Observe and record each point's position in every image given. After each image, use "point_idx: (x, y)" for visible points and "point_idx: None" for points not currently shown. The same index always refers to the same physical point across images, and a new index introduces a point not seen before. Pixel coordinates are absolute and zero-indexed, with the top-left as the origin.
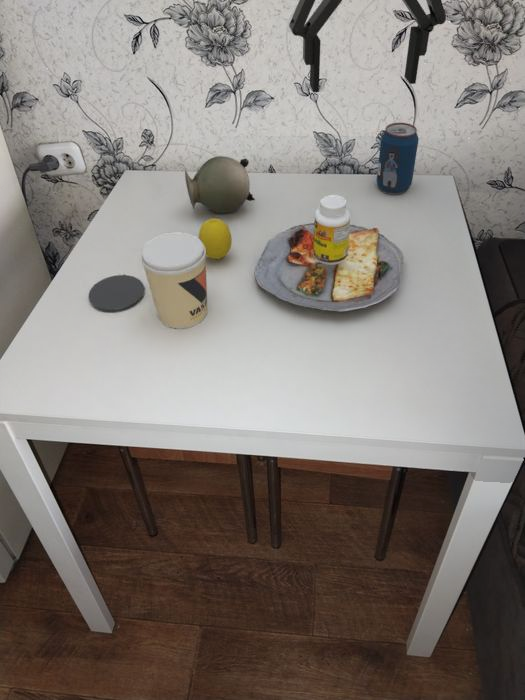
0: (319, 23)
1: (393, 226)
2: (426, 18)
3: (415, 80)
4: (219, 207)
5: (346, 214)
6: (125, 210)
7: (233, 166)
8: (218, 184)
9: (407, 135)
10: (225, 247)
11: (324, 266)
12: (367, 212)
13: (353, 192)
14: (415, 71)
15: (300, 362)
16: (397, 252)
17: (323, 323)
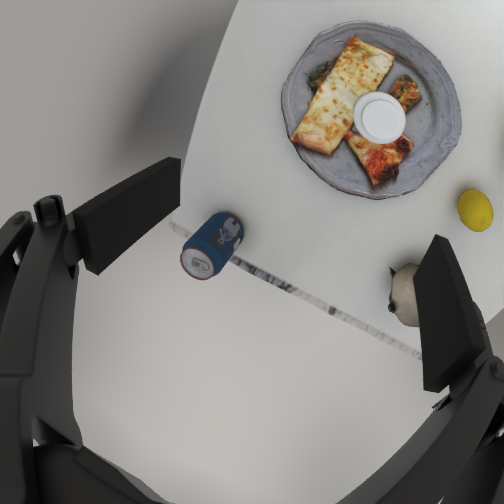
0: (481, 403)
1: (260, 159)
2: (36, 234)
3: (165, 158)
4: None
5: (364, 103)
6: None
7: (413, 302)
8: None
9: (194, 248)
10: (473, 191)
11: None
12: (275, 196)
13: (272, 238)
14: (153, 167)
15: (450, 11)
16: (286, 94)
17: None
